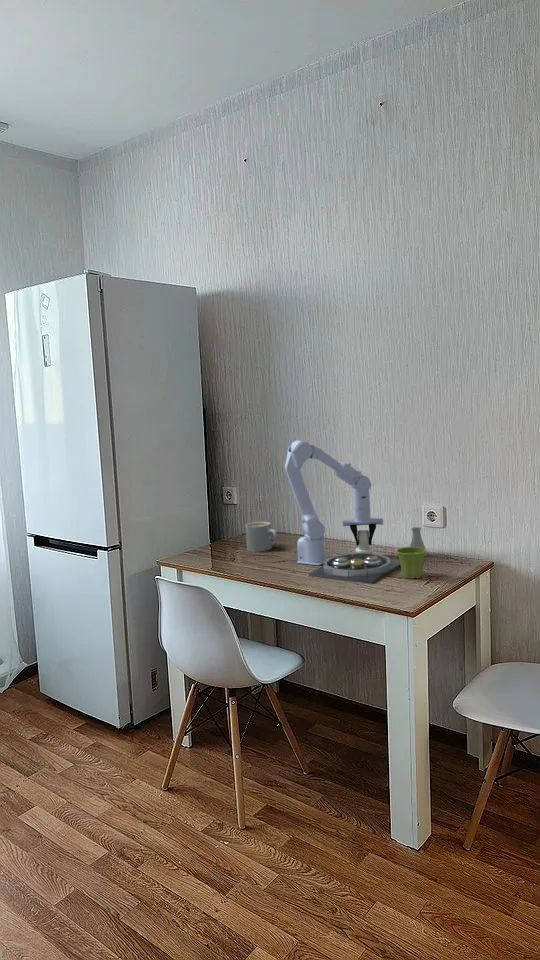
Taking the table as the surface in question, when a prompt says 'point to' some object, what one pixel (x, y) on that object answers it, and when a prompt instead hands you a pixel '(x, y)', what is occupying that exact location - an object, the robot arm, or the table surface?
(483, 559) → the table surface
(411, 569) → the plant pot
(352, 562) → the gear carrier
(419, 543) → the flask
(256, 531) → the coffee mug
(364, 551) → the white mushroom peg
